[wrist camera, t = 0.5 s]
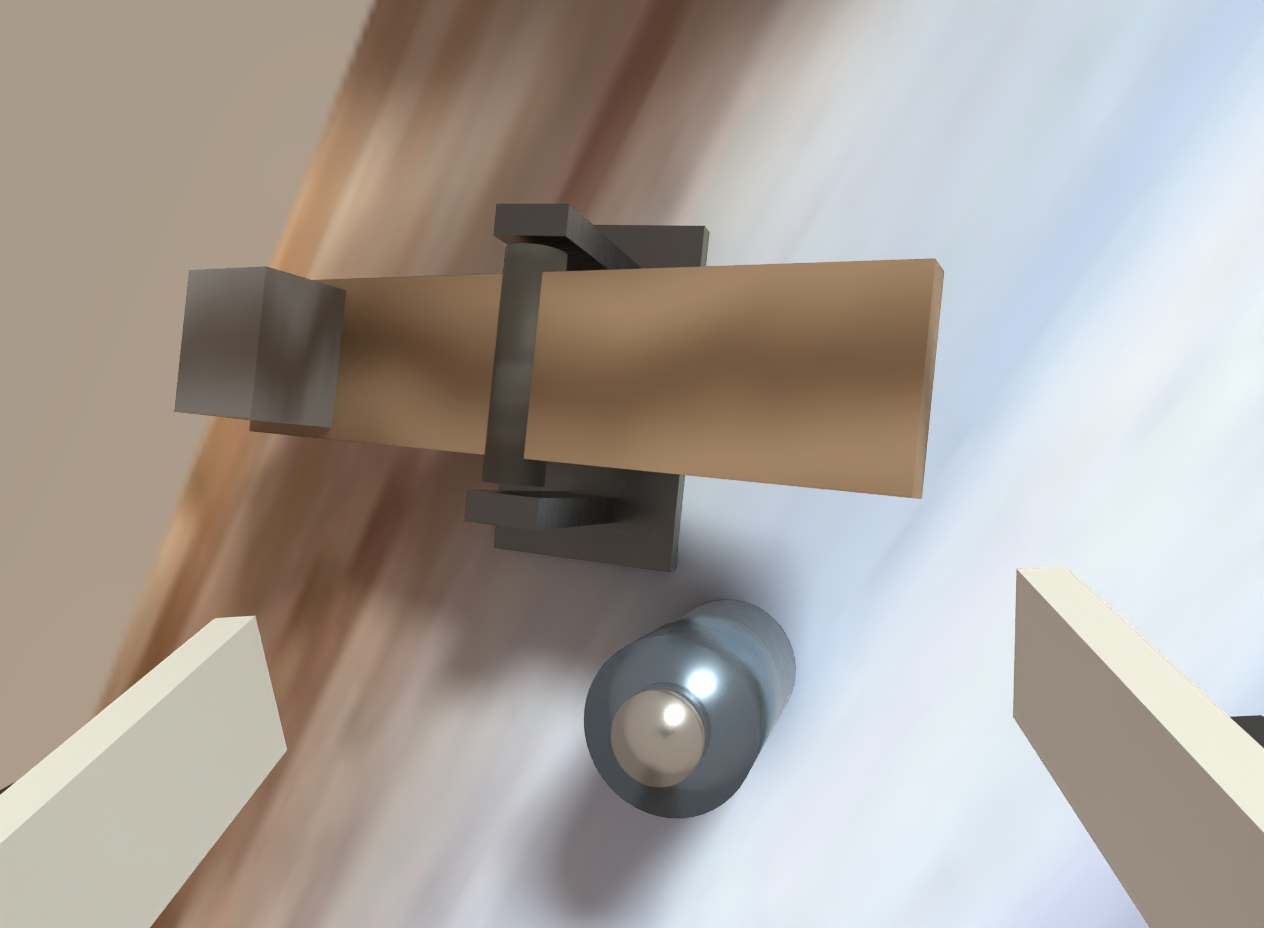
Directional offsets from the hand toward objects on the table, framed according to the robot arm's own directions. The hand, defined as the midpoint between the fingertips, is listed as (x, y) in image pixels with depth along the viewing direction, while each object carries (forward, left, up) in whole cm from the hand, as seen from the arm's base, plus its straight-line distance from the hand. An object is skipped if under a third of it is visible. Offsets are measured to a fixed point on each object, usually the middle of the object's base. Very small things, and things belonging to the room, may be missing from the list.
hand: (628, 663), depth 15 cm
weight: (+5, -2, -25) cm, 25 cm away
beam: (-7, -10, -17) cm, 21 cm away
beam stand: (-7, -10, -25) cm, 28 cm away
